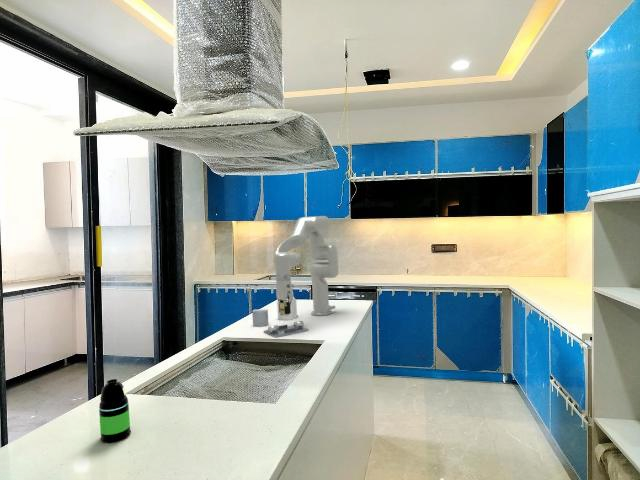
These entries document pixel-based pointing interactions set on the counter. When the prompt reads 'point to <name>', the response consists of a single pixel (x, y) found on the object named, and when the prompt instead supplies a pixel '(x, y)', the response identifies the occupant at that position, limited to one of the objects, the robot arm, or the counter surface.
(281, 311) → the cylinder
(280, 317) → the jar
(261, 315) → the medicine box
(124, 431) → the bottle
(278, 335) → the shaft bench
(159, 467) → the counter surface
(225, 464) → the counter surface
